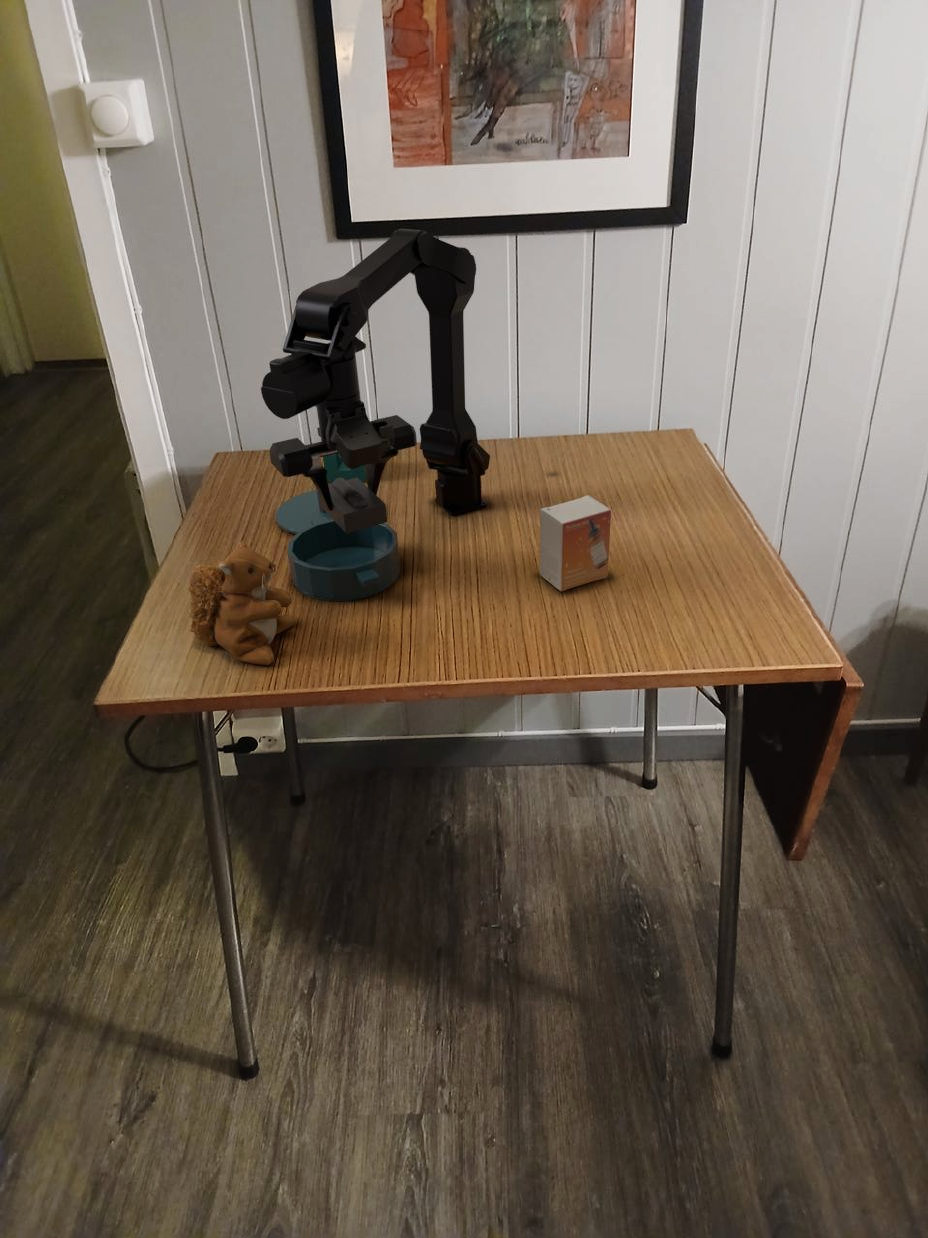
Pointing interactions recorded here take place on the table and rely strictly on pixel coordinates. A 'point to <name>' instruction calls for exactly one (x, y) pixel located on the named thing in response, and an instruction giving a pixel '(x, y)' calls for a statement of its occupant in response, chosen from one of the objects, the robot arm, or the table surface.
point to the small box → (574, 542)
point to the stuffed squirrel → (239, 605)
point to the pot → (343, 560)
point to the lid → (300, 512)
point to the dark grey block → (354, 505)
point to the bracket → (342, 469)
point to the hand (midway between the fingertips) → (351, 503)
